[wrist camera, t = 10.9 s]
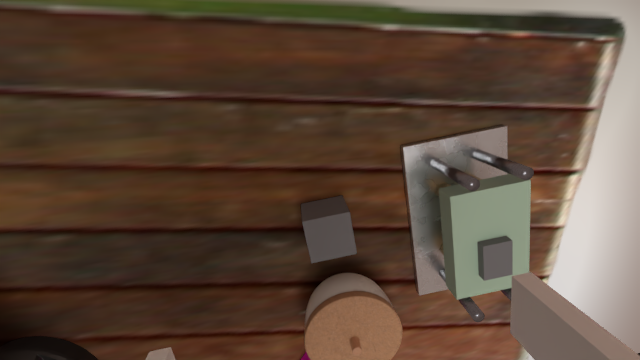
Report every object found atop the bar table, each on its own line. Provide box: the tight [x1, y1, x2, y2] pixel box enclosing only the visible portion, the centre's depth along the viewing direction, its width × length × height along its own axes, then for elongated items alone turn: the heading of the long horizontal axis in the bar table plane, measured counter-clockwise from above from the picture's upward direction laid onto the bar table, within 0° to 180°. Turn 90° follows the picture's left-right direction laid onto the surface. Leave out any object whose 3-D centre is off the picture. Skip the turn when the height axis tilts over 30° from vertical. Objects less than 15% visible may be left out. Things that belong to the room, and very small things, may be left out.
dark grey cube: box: [301, 195, 357, 263], centre depth 36 cm, size 5×5×5 cm
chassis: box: [400, 125, 534, 322], centre depth 35 cm, size 12×20×9 cm, turn 11°
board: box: [439, 174, 531, 300], centre depth 33 cm, size 8×12×4 cm, turn 11°
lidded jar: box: [304, 273, 402, 360], centre depth 37 cm, size 11×11×9 cm
